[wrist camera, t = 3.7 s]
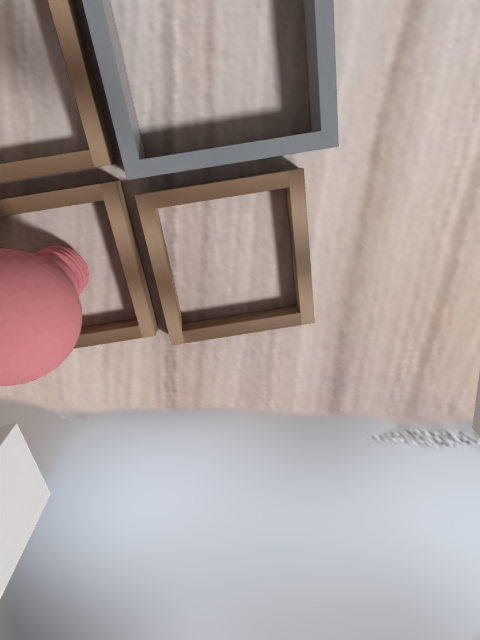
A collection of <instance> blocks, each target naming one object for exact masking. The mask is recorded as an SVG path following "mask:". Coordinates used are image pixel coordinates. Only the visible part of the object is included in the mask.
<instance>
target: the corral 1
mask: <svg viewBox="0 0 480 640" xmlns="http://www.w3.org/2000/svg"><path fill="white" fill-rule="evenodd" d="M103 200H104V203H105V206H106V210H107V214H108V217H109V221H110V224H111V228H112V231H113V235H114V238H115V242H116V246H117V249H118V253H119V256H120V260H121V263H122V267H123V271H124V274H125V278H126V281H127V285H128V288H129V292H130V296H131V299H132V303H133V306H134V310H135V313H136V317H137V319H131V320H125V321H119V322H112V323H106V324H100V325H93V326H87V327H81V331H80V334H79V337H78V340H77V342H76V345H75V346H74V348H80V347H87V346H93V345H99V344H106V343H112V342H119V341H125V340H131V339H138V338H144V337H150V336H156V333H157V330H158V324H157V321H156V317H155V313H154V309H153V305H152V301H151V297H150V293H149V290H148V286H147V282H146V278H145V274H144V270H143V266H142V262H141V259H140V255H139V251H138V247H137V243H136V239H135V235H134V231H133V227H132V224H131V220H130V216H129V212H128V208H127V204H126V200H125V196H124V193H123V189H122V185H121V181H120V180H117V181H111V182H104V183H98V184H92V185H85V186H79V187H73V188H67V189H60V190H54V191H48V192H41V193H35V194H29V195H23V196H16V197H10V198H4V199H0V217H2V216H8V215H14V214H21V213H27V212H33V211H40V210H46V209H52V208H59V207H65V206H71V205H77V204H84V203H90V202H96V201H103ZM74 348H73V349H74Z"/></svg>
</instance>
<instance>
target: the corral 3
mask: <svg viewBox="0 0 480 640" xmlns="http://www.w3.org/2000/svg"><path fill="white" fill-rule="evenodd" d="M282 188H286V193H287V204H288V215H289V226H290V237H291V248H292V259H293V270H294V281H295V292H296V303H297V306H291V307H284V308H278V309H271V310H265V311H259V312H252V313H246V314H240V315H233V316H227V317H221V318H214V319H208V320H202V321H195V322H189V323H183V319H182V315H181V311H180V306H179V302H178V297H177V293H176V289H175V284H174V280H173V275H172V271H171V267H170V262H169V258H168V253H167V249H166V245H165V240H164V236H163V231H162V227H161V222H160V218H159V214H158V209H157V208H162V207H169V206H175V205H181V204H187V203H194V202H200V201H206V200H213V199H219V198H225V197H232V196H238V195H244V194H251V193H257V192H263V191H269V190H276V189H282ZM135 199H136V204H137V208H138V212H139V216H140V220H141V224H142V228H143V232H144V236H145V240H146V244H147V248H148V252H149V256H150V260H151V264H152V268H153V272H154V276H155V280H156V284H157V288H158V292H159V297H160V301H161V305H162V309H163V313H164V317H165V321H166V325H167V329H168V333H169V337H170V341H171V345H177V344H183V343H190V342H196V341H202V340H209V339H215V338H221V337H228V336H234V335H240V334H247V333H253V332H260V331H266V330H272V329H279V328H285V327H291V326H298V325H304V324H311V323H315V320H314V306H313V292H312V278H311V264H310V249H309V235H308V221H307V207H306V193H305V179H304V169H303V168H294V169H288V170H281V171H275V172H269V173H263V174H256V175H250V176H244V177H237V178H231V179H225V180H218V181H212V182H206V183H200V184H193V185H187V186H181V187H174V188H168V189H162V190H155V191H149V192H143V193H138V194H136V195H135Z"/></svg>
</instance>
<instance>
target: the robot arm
mask: <svg viewBox="0 0 480 640" xmlns="http://www.w3.org/2000/svg"><path fill="white" fill-rule="evenodd" d="M472 429H473V430H474V431H475V432H476V433H477V434H478V435H479V436H480V373H479V380H478V388H477V396H476V403H475V411H474V419H473V426H472ZM49 497H50V492H49V489H48V487H47V485H46V483H45V481H44V479H43V477H42V475H41V473H40V471H39V469H38V466H37V464H36V462H35V460H34V458H33V456H32V454H31V452H30V450H29V448H28V446H27V444H26V442H25V439H24V437H23V435H22V433H21V431H20V429H19V427H18V425H17V423H16V424H9V425H2V426H0V599H1V596H2V594H3V592H4V590H5V588H6V586H7V584H8V582H9V580H10V577H11V576H12V574H13V572H14V569H15V567H16V565H17V563H18V561H19V559H20V557H21V555H22V552H23V551H24V548H25V546H26V545H27V542H28V540H29V538H30V536H31V534H32V532H33V530H34V528H35V526H36V523H37V522H38V519H39V518H40V515H41V513H42V511H43V509H44V507H45V505H46V503H47V501H48V499H49Z"/></svg>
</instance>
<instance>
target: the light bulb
mask: <svg viewBox="0 0 480 640" xmlns="http://www.w3.org/2000/svg"><path fill="white" fill-rule="evenodd" d="M88 278H89V272H88V267H87V265H86V263H85V261H84V260H83V259H82V258H81V256H80V255H79V254H78V253H76V252H75V251H74V250H72V249H70V248H68V247H65V246H59V245H55V246H48V247H44V248H43V249H41V250H39V251H37V252H36V253H34V254H32V253H29V252H26V251H22V250H17V249H6V248H0V386H10V385H17V384H23V383H26V382H29V381H33V380H36V379H38V378H40V377H42V376H44V375H46V374H48V373H49V372H51V371H52V370H54V369H55V368H56V367H58V366H59V365H60V364H61V363H62V362H63V361H64V360H65V359H66V358H67V357H68V355H69V354H70V353H71V351H72V350H73V348H74V346H75V345H76V342H77V340H78V337H79V334H80V331H81V325H82V308H81V303H80V300H79V295H80V294H81V293H82V291H83V289H84V288H85V286H86V284H87V283H88Z"/></svg>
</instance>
